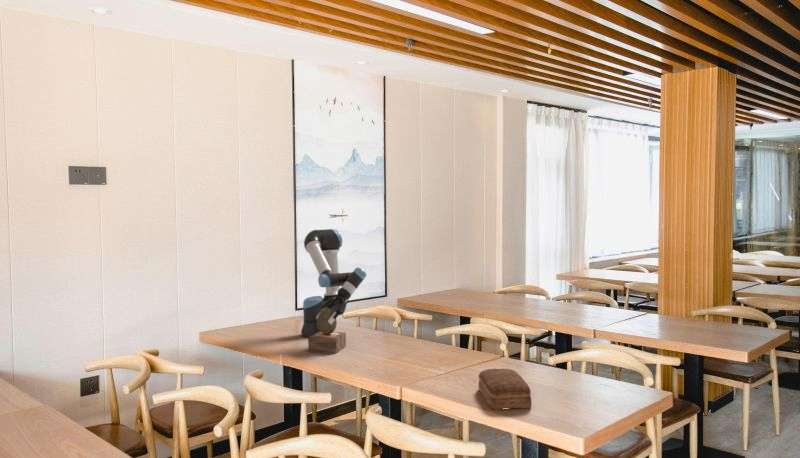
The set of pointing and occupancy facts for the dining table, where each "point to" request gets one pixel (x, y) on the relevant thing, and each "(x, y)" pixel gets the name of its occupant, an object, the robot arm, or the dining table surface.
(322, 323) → the decorative egg
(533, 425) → the dining table surface
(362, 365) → the dining table surface
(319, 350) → the pedestal
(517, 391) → the bread
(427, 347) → the dining table surface
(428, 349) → the dining table surface
